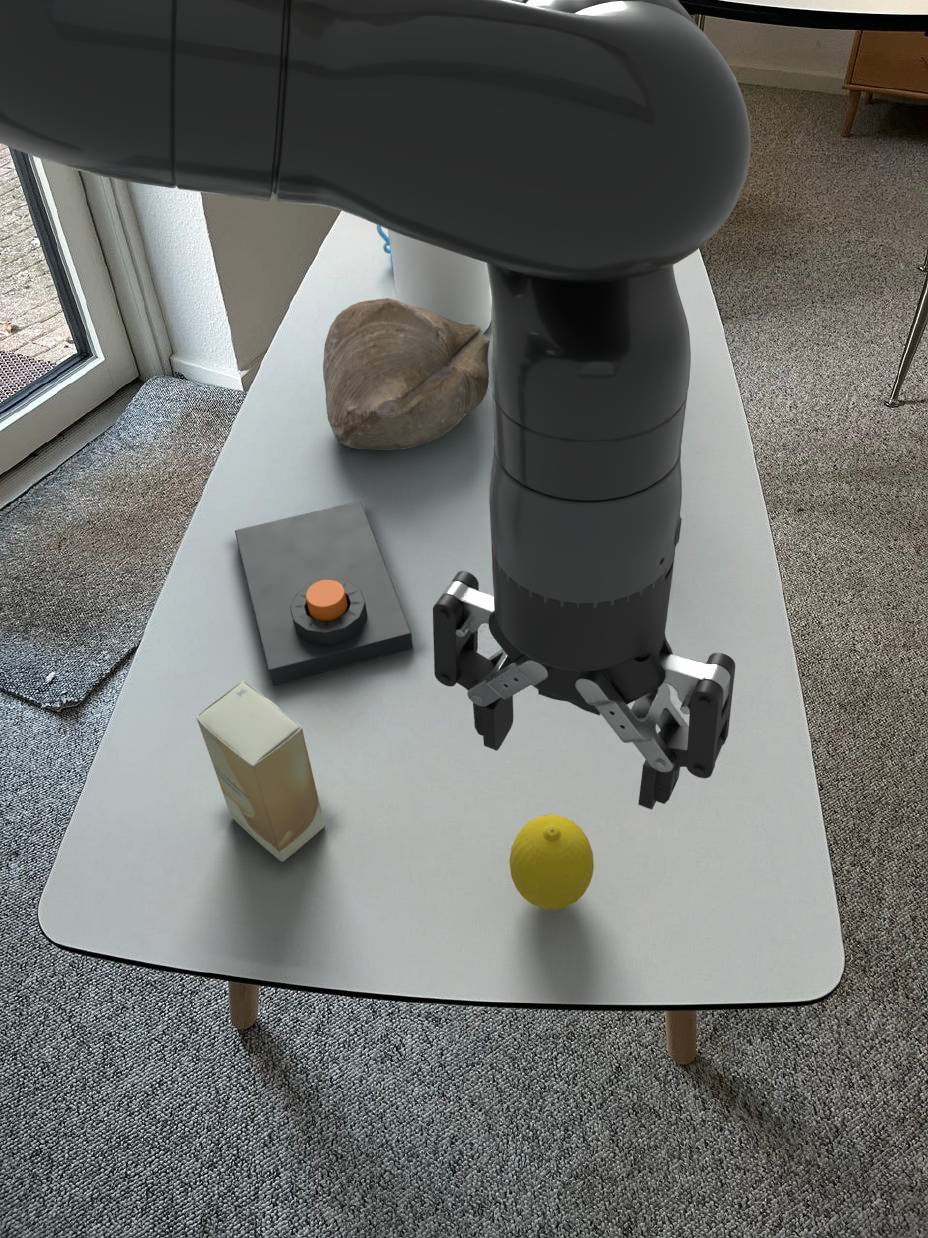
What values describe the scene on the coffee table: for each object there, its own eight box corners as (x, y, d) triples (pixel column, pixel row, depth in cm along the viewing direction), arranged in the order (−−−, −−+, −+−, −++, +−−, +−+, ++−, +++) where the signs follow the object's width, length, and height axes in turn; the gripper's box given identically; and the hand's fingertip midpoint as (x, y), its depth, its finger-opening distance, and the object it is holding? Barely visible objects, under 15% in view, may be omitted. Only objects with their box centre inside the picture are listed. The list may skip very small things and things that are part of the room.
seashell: (528, 322, 108) (413, 246, 99) (494, 475, 104) (372, 411, 95) (432, 356, 120) (322, 292, 111) (399, 494, 117) (283, 439, 108)
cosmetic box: (228, 816, 79) (189, 714, 70) (273, 779, 81) (241, 675, 72) (284, 867, 76) (251, 766, 67) (330, 827, 78) (303, 725, 69)
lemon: (505, 924, 72) (503, 863, 66) (516, 853, 76) (514, 789, 70) (587, 935, 71) (592, 874, 65) (594, 862, 75) (599, 798, 69)
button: (313, 625, 88) (309, 611, 86) (305, 599, 90) (302, 584, 89) (351, 616, 88) (348, 601, 87) (342, 590, 90) (339, 575, 89)
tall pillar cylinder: (384, 337, 123) (357, 113, 105) (422, 291, 129) (402, 72, 111) (470, 353, 120) (457, 125, 101) (504, 305, 126) (498, 82, 108)
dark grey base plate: (272, 685, 88) (264, 657, 85) (238, 545, 100) (230, 516, 97) (413, 648, 90) (409, 619, 87) (363, 515, 102) (358, 486, 99)
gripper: (385, 541, 44) (418, 771, 55) (725, 648, 39) (682, 876, 51) (468, 437, 48) (482, 671, 60) (782, 521, 43) (730, 758, 55)
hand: (573, 764), depth 55 cm, fingers open, 8 cm apart
